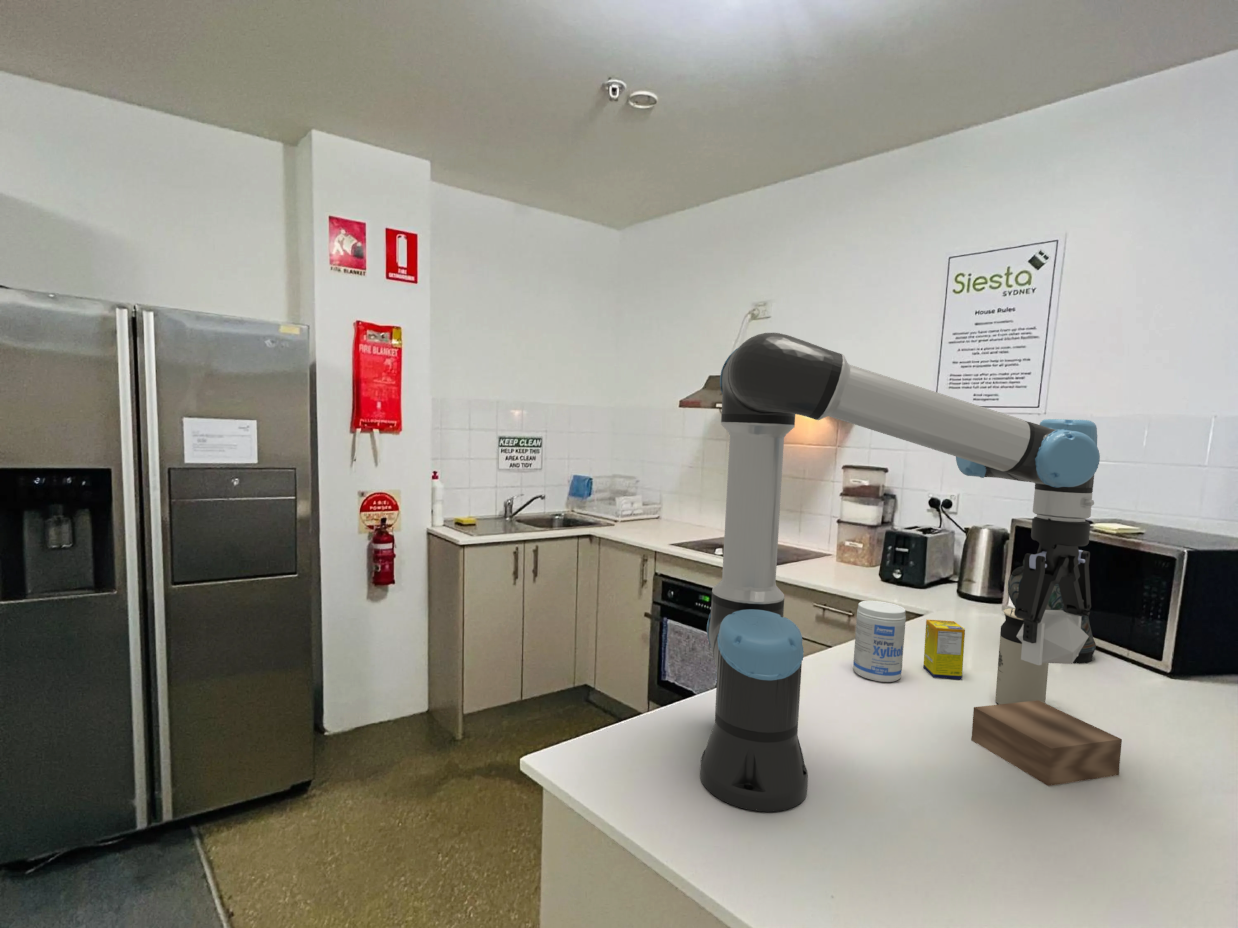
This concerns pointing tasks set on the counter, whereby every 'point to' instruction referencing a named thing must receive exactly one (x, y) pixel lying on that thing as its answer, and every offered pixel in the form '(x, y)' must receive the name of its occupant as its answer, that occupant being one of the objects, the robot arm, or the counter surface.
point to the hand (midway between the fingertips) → (1049, 657)
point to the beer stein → (1055, 604)
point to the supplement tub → (879, 641)
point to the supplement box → (944, 649)
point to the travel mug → (1017, 667)
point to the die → (1060, 638)
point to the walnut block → (1046, 742)
